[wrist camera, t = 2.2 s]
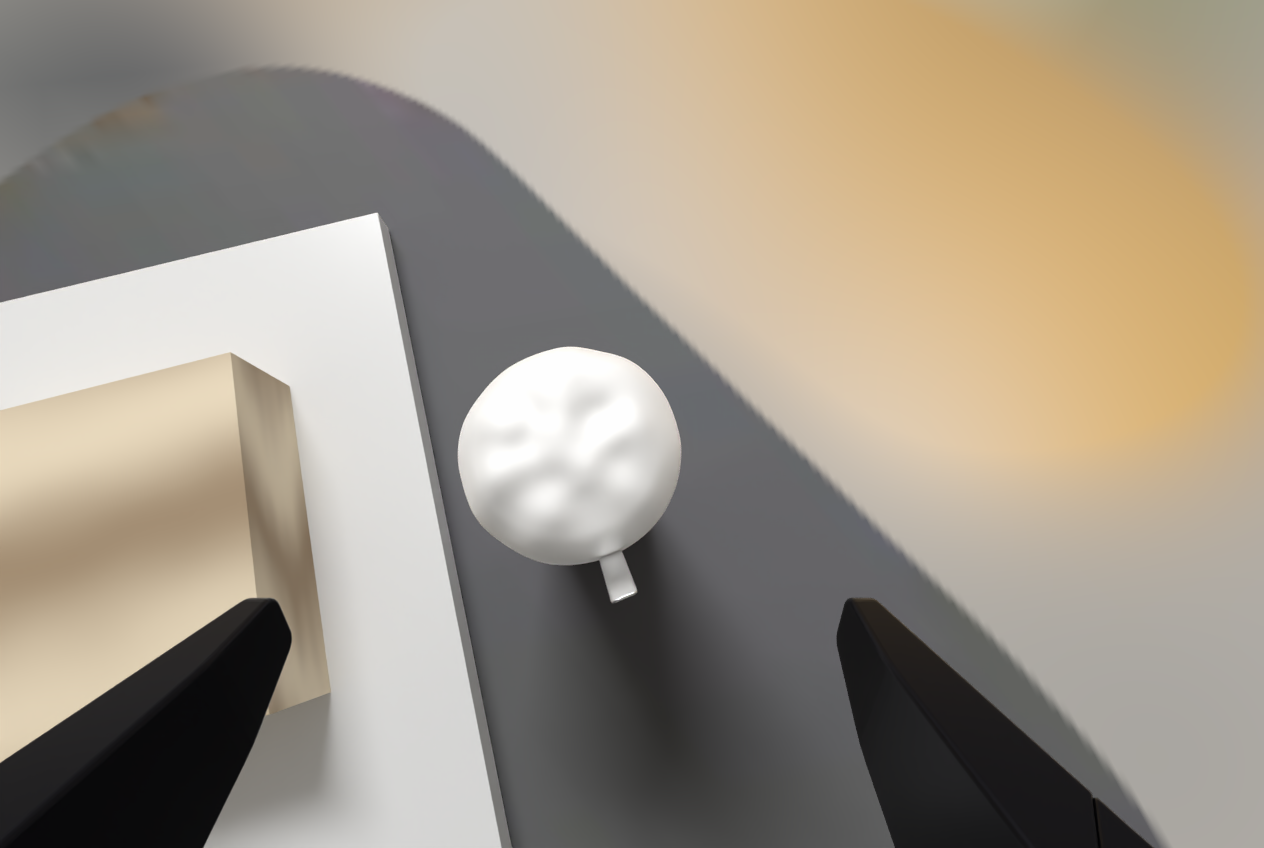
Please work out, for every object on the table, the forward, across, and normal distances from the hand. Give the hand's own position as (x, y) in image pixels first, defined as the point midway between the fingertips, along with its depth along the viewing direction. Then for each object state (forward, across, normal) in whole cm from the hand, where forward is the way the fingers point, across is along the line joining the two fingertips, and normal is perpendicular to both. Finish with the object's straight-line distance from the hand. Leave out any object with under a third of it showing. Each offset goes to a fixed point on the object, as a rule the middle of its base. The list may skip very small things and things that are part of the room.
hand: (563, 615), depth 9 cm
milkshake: (+9, 0, +5) cm, 11 cm away
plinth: (+8, +14, +6) cm, 17 cm away
